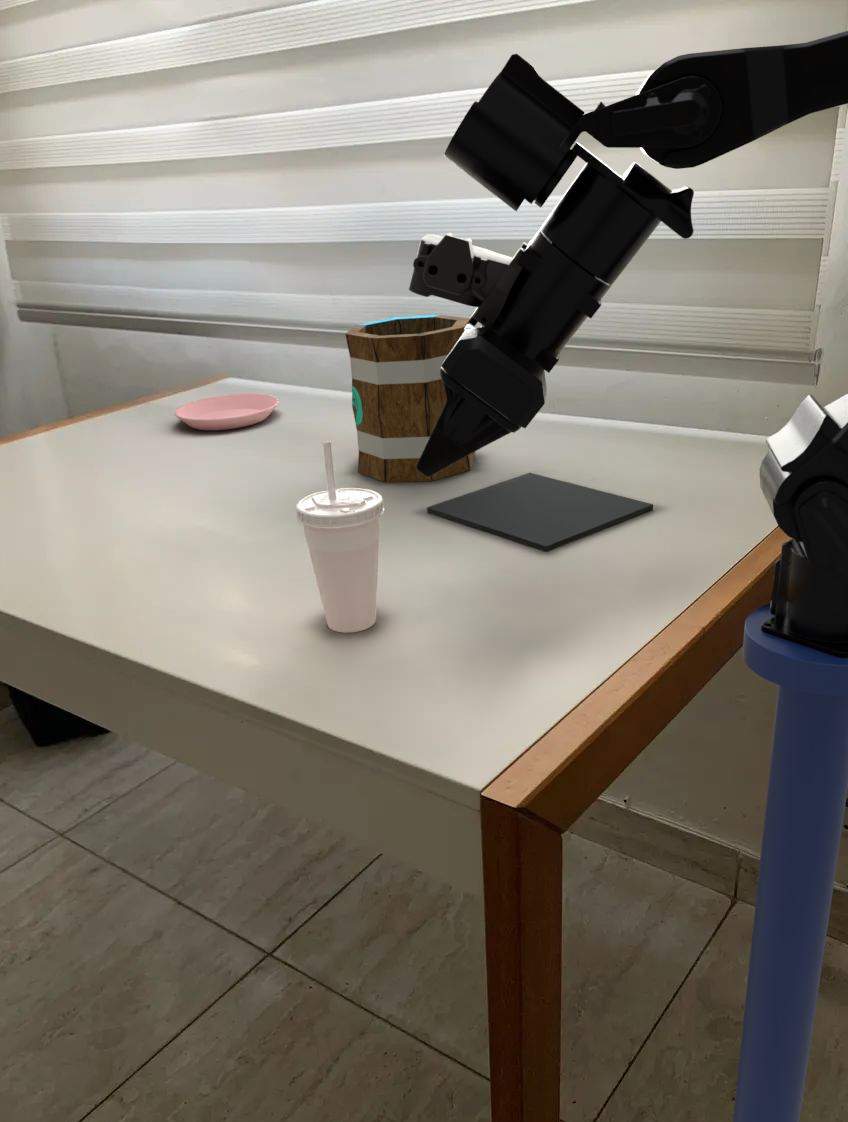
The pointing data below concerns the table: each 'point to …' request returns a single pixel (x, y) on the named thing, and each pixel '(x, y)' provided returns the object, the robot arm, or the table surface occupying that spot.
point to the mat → (539, 510)
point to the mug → (400, 392)
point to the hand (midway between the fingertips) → (431, 452)
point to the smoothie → (344, 549)
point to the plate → (227, 411)
